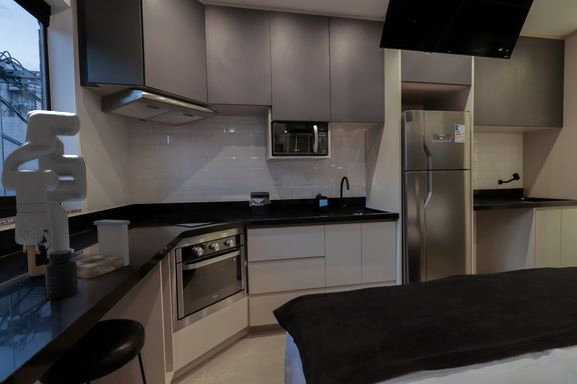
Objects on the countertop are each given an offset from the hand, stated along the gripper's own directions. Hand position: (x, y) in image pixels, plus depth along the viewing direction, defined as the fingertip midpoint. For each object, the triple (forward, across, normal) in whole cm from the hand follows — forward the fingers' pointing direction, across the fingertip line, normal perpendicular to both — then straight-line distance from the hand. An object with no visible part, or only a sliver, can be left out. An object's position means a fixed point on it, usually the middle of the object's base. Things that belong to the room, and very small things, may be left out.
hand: (36, 263), depth 92 cm
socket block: (+4, +13, +9) cm, 16 cm away
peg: (+3, 0, 0) cm, 3 cm away
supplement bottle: (+4, +24, -9) cm, 25 cm away
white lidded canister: (+5, +13, +17) cm, 22 cm away
